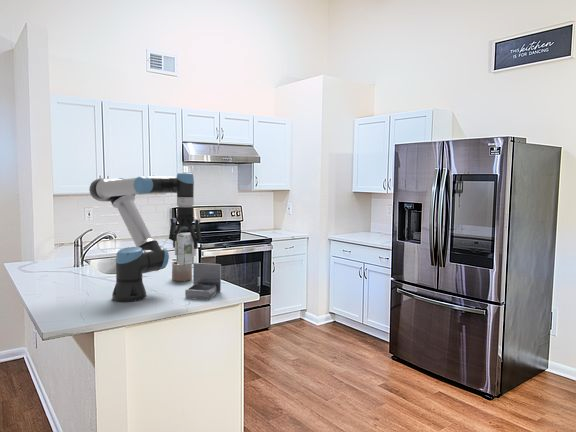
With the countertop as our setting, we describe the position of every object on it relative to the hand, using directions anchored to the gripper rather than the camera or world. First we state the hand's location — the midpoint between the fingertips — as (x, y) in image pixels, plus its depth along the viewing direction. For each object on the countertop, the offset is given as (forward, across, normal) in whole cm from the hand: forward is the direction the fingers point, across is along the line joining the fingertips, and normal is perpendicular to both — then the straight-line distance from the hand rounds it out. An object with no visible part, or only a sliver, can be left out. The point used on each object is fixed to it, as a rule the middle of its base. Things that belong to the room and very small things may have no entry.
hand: (185, 255), depth 212 cm
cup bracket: (+21, +4, +12) cm, 25 cm away
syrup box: (+4, 0, 0) cm, 4 cm away
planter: (+21, -18, +38) cm, 47 cm away
